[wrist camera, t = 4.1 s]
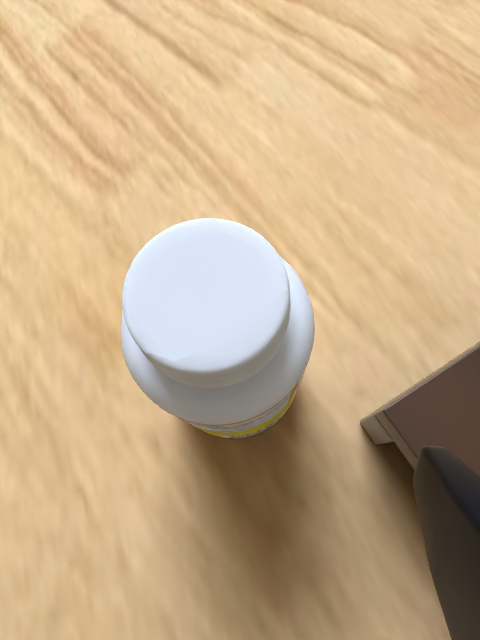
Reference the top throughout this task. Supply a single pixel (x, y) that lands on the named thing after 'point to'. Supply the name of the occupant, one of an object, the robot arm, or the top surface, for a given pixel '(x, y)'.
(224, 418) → the supplement bottle
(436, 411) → the walnut shelf
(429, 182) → the top surface
